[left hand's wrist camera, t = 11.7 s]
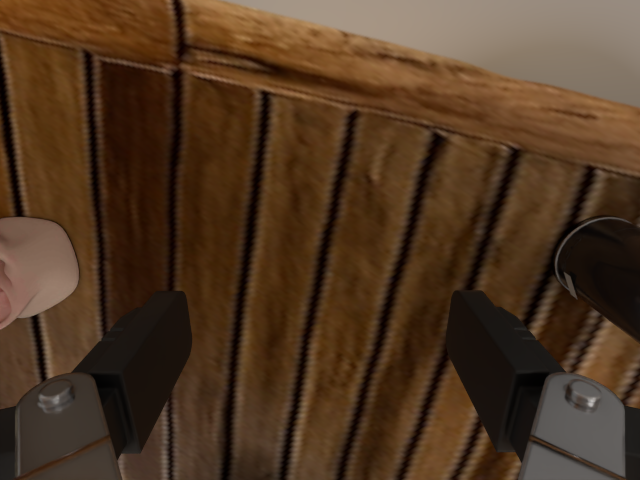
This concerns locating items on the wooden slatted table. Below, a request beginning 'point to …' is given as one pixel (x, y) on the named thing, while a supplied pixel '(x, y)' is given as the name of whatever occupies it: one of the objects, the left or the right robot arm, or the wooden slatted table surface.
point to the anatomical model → (34, 267)
